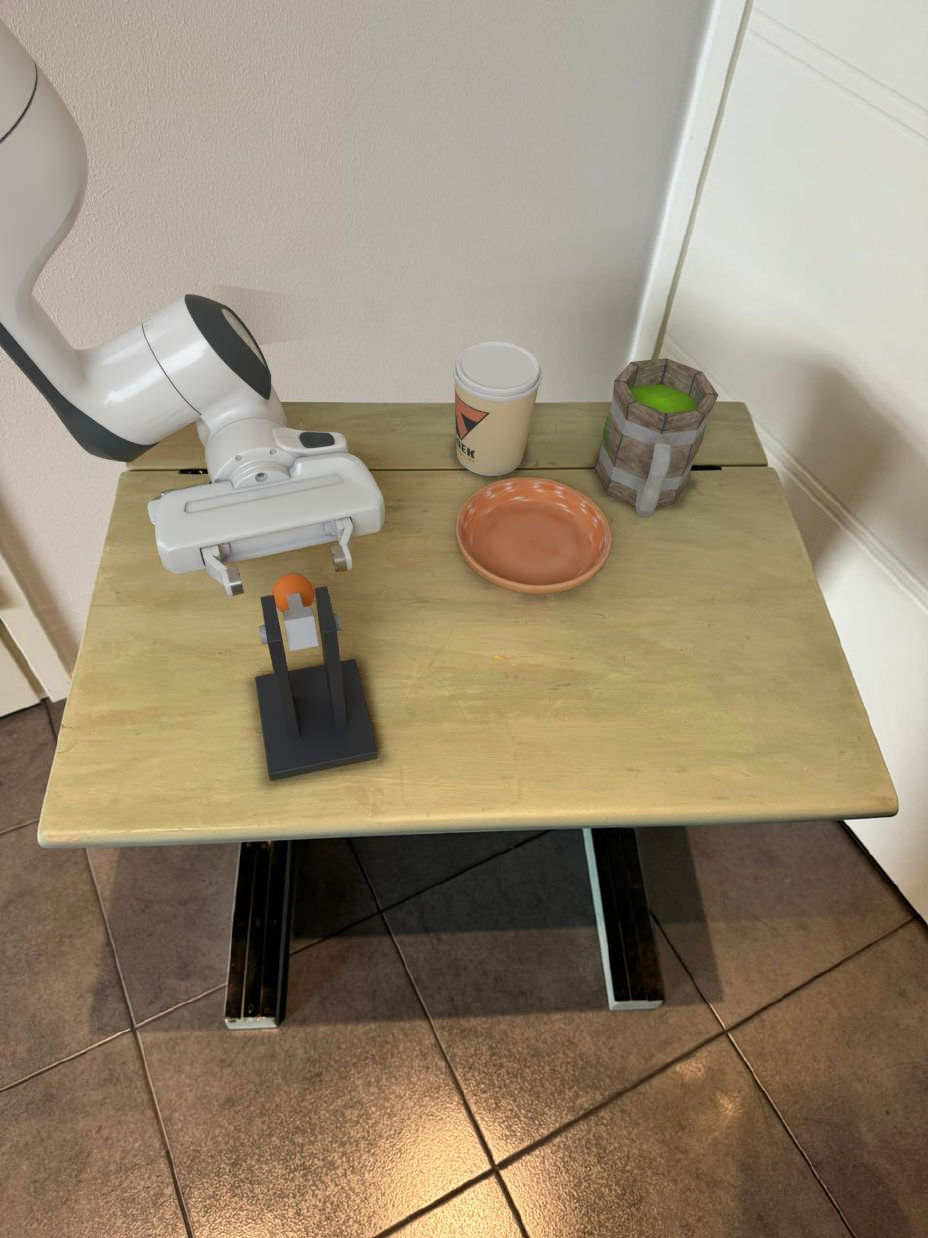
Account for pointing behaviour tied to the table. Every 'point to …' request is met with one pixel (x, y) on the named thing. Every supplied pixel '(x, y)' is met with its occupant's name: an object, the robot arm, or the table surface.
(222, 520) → the robot arm
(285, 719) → the switch base
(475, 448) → the coffee cup
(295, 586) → the lever
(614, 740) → the table surface
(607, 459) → the mug
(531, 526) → the saucer
